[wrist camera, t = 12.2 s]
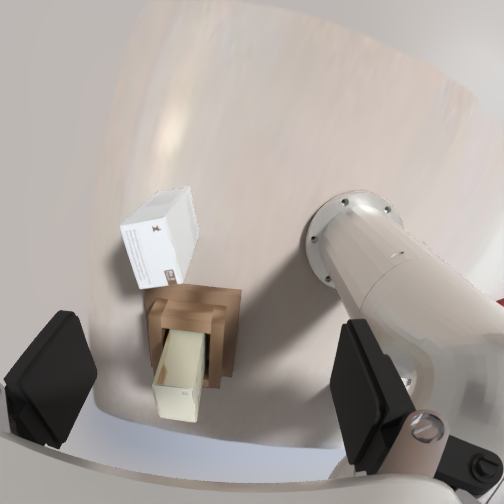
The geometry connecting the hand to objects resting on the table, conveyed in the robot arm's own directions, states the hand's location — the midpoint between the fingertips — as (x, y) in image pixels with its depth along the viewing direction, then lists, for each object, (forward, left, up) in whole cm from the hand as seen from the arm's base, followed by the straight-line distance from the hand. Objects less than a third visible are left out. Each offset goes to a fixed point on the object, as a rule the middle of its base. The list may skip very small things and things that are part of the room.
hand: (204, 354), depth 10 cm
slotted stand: (+4, +19, -26) cm, 32 cm away
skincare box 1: (+6, +3, -26) cm, 27 cm away
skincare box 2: (+4, +19, -25) cm, 31 cm away
